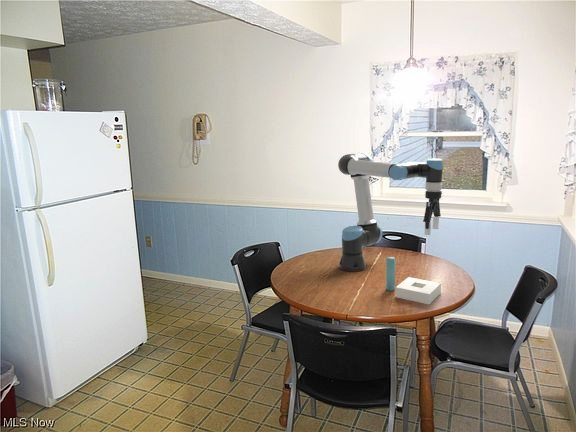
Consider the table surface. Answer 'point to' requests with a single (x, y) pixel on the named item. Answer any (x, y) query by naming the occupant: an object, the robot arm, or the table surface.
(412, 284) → the socket board
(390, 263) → the peg
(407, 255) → the table surface
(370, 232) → the robot arm
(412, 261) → the table surface
